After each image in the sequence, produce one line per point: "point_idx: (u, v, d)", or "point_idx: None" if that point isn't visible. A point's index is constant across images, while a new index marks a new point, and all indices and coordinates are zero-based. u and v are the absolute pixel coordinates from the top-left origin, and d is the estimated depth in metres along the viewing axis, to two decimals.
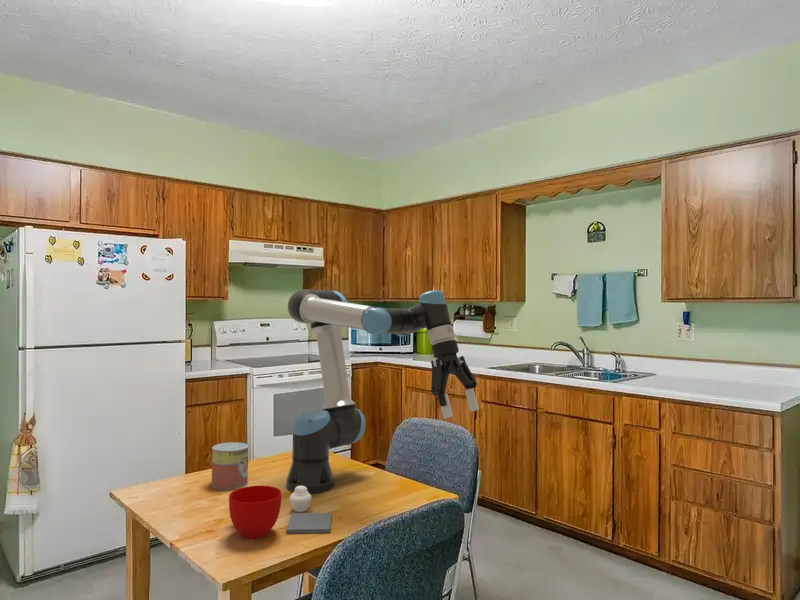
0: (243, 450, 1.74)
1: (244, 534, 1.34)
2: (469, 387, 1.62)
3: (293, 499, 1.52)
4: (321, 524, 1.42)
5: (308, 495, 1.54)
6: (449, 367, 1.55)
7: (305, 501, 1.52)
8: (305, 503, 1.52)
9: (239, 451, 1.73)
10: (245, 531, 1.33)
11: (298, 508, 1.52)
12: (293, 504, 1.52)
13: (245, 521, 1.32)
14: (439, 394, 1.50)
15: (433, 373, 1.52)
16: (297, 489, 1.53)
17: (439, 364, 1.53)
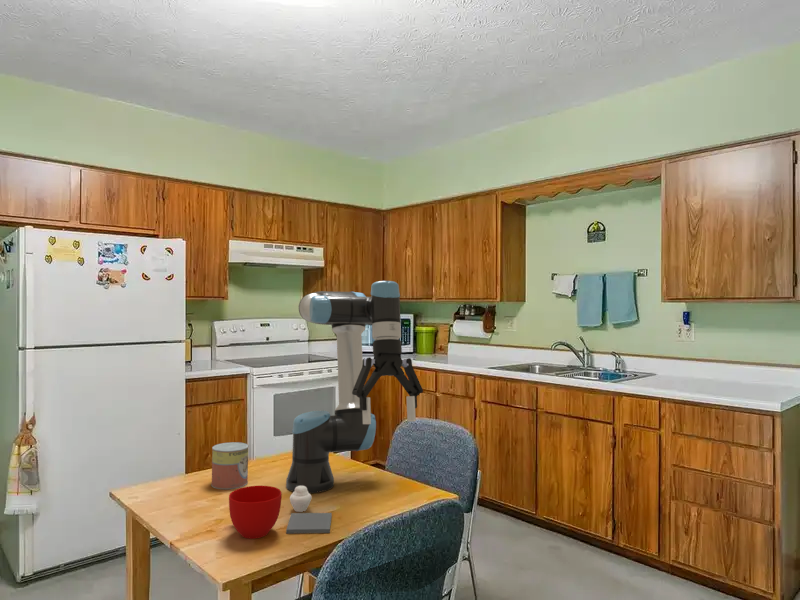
0: (243, 450, 1.74)
1: (244, 534, 1.34)
2: (411, 394, 1.44)
3: (293, 499, 1.52)
4: (321, 524, 1.42)
5: (308, 495, 1.54)
6: (382, 369, 1.38)
7: (305, 501, 1.52)
8: (305, 503, 1.52)
9: (239, 451, 1.73)
10: (245, 531, 1.33)
11: (298, 508, 1.52)
12: (293, 504, 1.52)
13: (245, 521, 1.32)
14: (360, 397, 1.35)
15: (360, 372, 1.37)
16: (297, 489, 1.53)
17: (368, 364, 1.37)
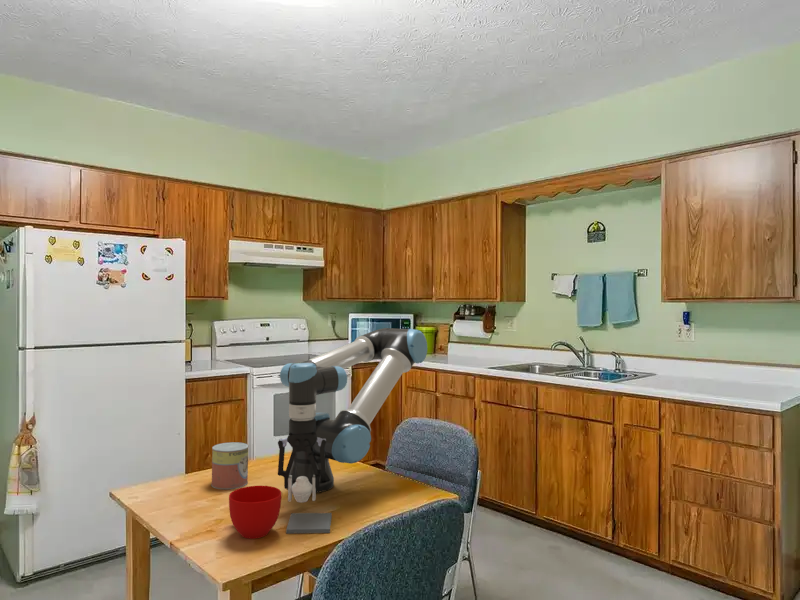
0: (243, 450, 1.74)
1: (244, 534, 1.34)
2: (315, 474, 1.55)
3: (294, 489, 1.52)
4: (321, 524, 1.42)
5: (309, 485, 1.54)
6: (294, 448, 1.53)
7: (306, 491, 1.53)
8: (306, 493, 1.53)
9: (239, 451, 1.73)
10: (245, 531, 1.33)
11: (300, 498, 1.53)
12: (295, 494, 1.53)
13: (245, 521, 1.32)
14: None
15: None
16: (298, 479, 1.54)
17: (280, 447, 1.53)
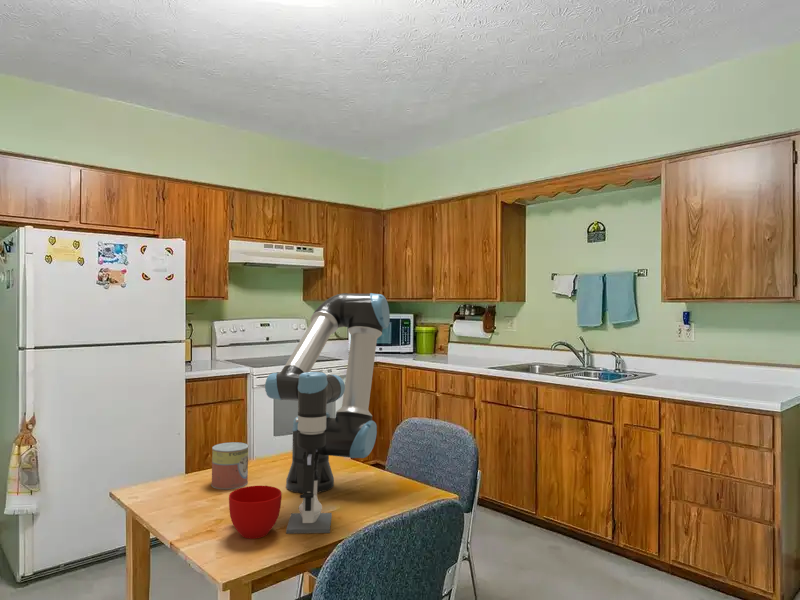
0: (243, 450, 1.74)
1: (244, 534, 1.34)
2: None
3: None
4: (321, 524, 1.42)
5: None
6: None
7: (300, 510, 1.43)
8: (301, 512, 1.43)
9: (239, 451, 1.73)
10: (245, 531, 1.33)
11: None
12: None
13: (245, 521, 1.32)
14: None
15: None
16: None
17: None
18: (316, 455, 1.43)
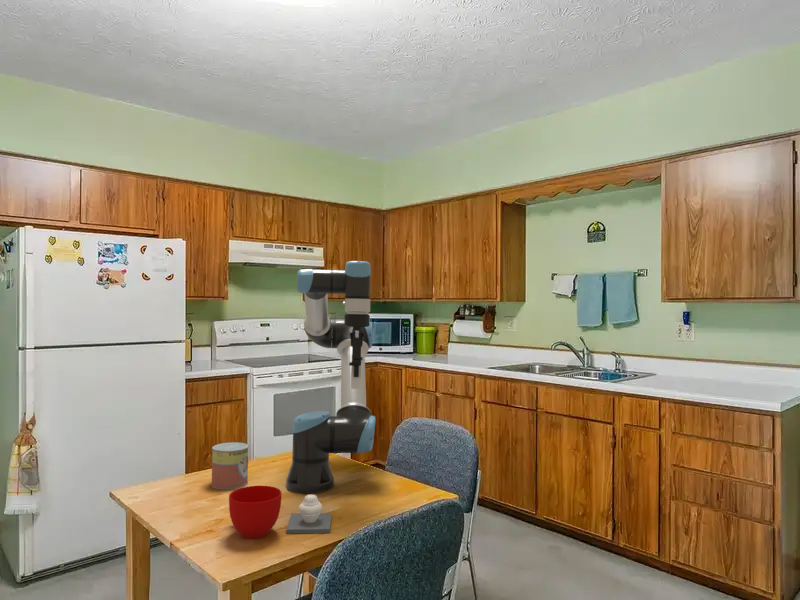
0: (243, 450, 1.74)
1: (244, 534, 1.34)
2: None
3: None
4: (321, 524, 1.42)
5: (306, 507, 1.42)
6: None
7: (300, 510, 1.43)
8: (301, 512, 1.43)
9: (239, 451, 1.73)
10: (245, 531, 1.33)
11: None
12: None
13: (245, 521, 1.32)
14: None
15: None
16: None
17: None
18: (361, 333, 1.60)
